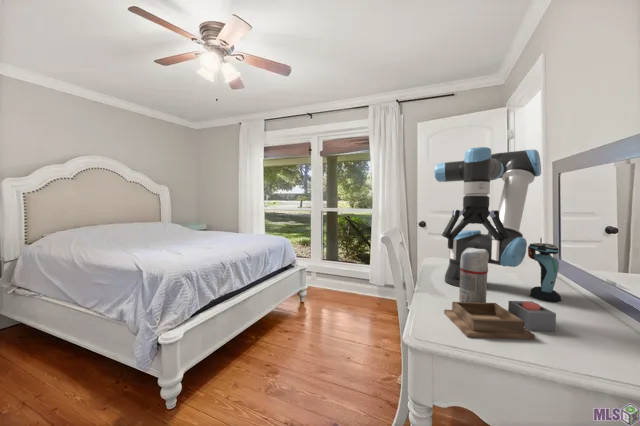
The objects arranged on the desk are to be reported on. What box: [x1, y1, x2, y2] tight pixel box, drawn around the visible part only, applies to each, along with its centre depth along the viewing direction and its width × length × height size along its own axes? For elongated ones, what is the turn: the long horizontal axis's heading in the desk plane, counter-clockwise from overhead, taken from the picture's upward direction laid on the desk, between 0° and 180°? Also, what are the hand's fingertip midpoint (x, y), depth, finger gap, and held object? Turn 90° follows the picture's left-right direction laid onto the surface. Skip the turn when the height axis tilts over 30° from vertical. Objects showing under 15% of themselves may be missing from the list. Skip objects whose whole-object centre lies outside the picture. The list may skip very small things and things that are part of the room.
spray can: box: [458, 248, 489, 303], centre depth 90 cm, size 8×8×20 cm
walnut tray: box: [443, 301, 536, 340], centre depth 78 cm, size 15×17×4 cm
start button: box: [522, 300, 541, 310], centre depth 79 cm, size 4×4×2 cm
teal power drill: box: [527, 242, 562, 303], centre depth 101 cm, size 9×12×20 cm
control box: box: [507, 300, 557, 332], centre depth 79 cm, size 9×7×5 cm
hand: (473, 259), depth 90 cm, fingers open, 13 cm apart
